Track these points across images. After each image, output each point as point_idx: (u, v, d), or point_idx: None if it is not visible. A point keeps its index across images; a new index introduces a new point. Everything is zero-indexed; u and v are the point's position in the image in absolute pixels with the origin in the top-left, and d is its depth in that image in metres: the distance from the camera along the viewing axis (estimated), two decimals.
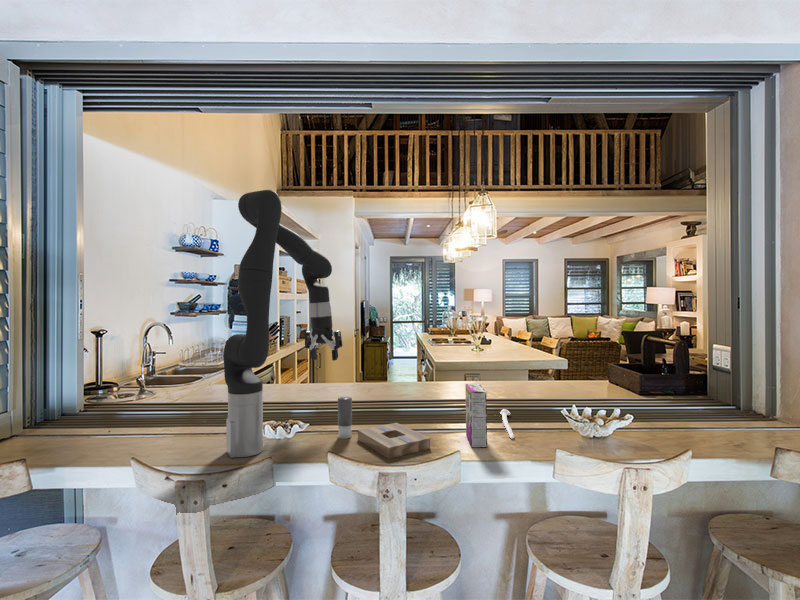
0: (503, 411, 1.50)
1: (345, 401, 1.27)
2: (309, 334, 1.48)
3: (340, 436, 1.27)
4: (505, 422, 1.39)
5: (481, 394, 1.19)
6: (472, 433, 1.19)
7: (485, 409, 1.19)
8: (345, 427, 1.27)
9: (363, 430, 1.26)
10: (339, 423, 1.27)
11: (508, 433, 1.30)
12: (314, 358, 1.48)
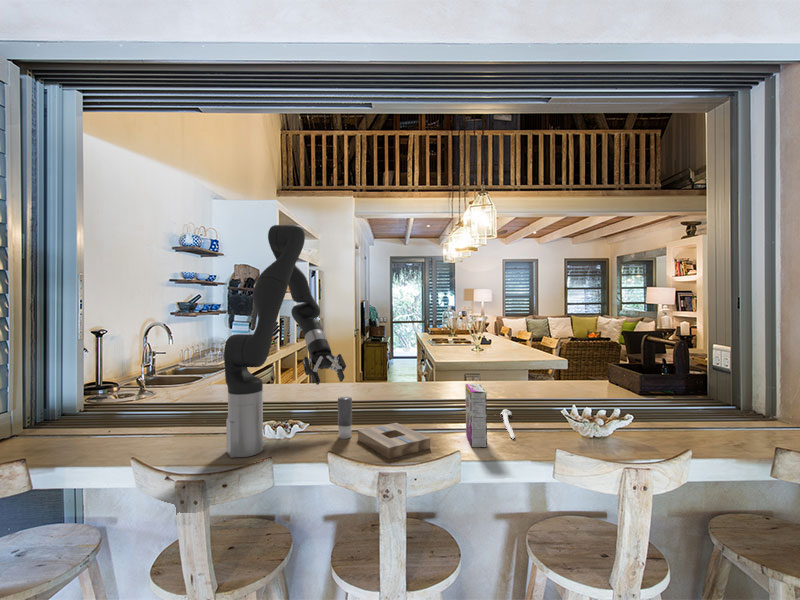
0: (504, 411, 1.50)
1: (345, 401, 1.27)
2: (308, 360, 1.41)
3: (340, 436, 1.27)
4: (506, 422, 1.39)
5: (481, 394, 1.19)
6: (472, 433, 1.19)
7: (485, 409, 1.19)
8: (345, 427, 1.27)
9: (363, 430, 1.26)
10: (339, 423, 1.27)
11: (509, 433, 1.30)
12: None
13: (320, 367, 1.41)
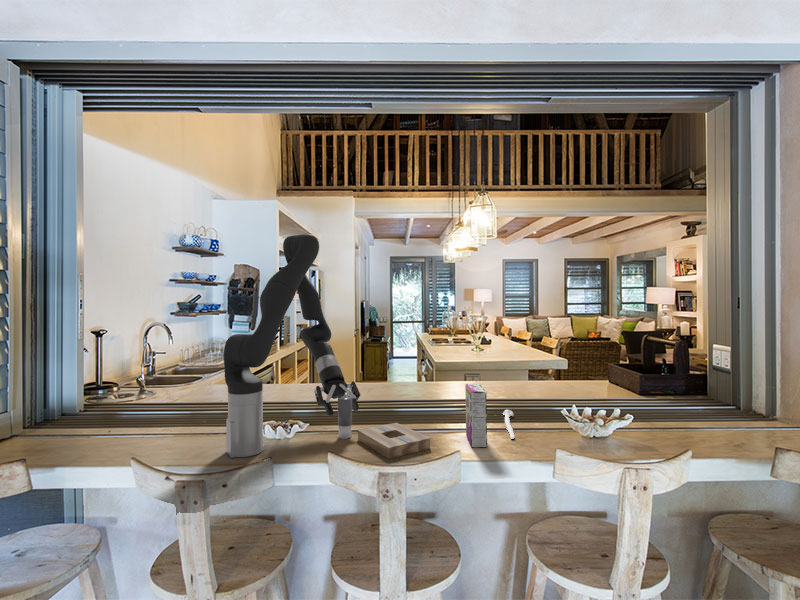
0: (506, 412, 1.49)
1: (345, 401, 1.27)
2: None
3: (340, 436, 1.27)
4: (507, 423, 1.38)
5: (481, 394, 1.19)
6: (472, 433, 1.19)
7: (485, 409, 1.19)
8: (345, 427, 1.27)
9: (363, 430, 1.26)
10: (339, 423, 1.27)
11: None
12: None
13: (333, 397, 1.32)
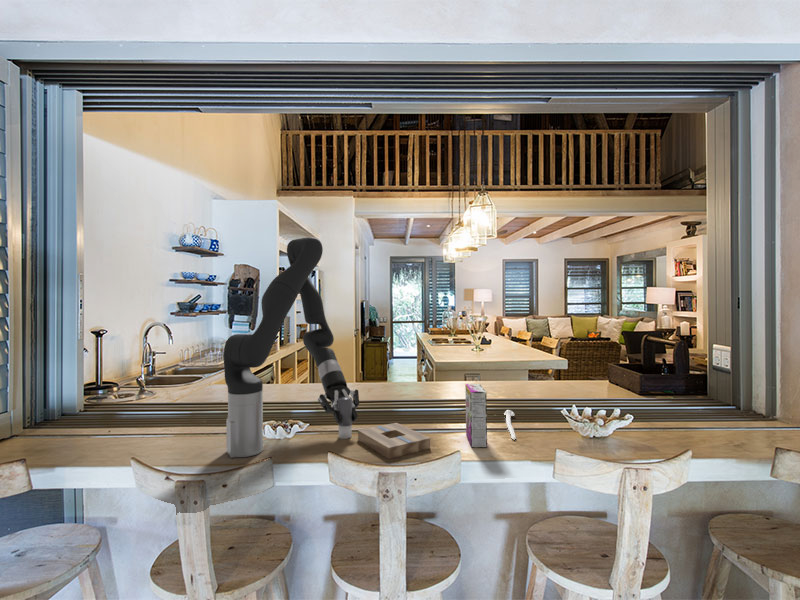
0: (507, 412, 1.49)
1: (345, 401, 1.27)
2: (324, 396, 1.30)
3: (340, 436, 1.27)
4: (508, 423, 1.38)
5: (481, 394, 1.19)
6: (472, 433, 1.19)
7: (485, 409, 1.19)
8: (345, 427, 1.27)
9: (363, 430, 1.26)
10: None
11: None
12: None
13: None
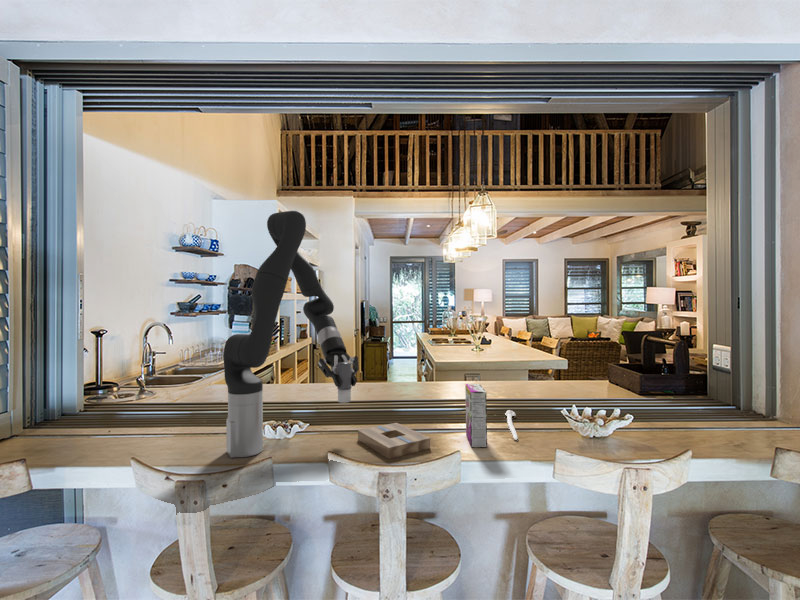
0: (508, 412, 1.49)
1: (345, 365, 1.27)
2: None
3: (339, 400, 1.27)
4: (509, 423, 1.38)
5: (481, 394, 1.19)
6: (472, 433, 1.19)
7: (485, 409, 1.19)
8: (344, 391, 1.27)
9: (363, 430, 1.26)
10: None
11: (512, 434, 1.29)
12: None
13: None
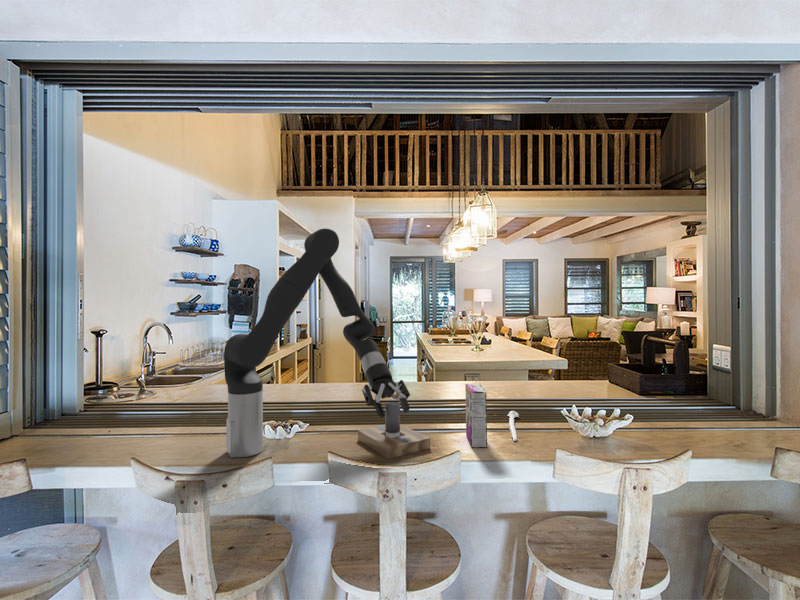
0: (511, 413, 1.48)
1: (394, 406, 1.20)
2: None
3: None
4: (511, 424, 1.37)
5: (481, 394, 1.19)
6: (472, 433, 1.19)
7: (485, 409, 1.19)
8: (393, 434, 1.20)
9: (363, 430, 1.26)
10: (387, 430, 1.21)
11: (512, 435, 1.28)
12: None
13: (382, 396, 1.24)
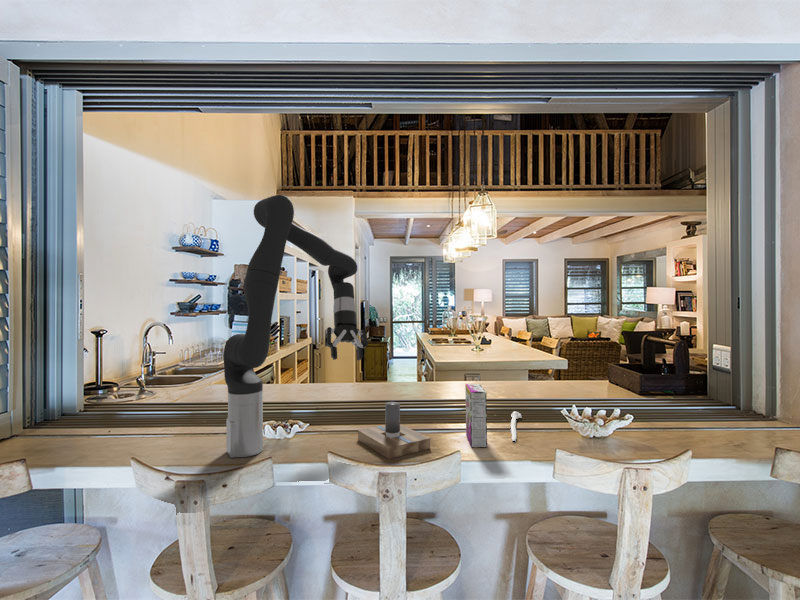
0: (513, 413, 1.47)
1: (394, 406, 1.20)
2: (331, 330, 1.34)
3: None
4: (512, 424, 1.36)
5: (481, 394, 1.19)
6: (472, 433, 1.19)
7: (485, 409, 1.19)
8: (393, 434, 1.20)
9: (363, 430, 1.26)
10: (387, 430, 1.21)
11: None
12: None
13: (341, 340, 1.35)
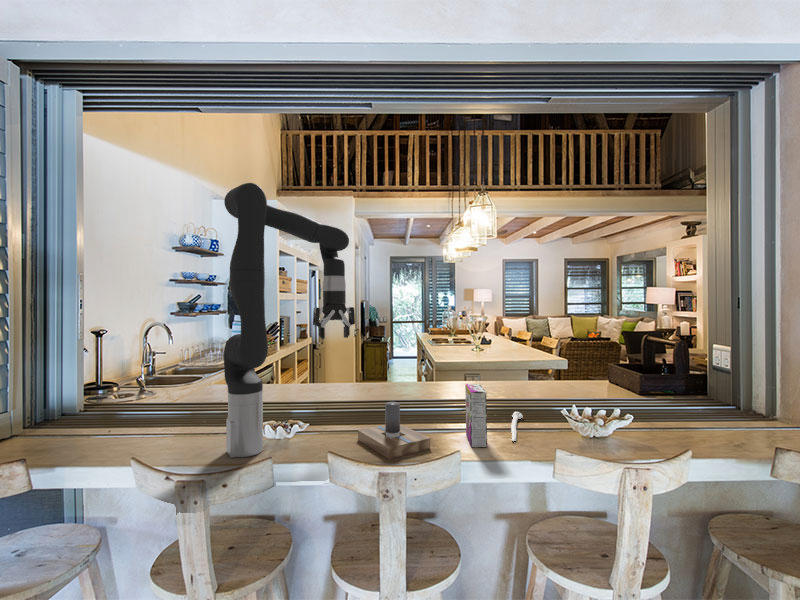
0: (515, 414, 1.47)
1: (394, 406, 1.20)
2: (320, 310, 1.35)
3: None
4: (512, 425, 1.36)
5: (481, 394, 1.19)
6: (472, 433, 1.19)
7: (485, 409, 1.19)
8: (393, 434, 1.20)
9: (363, 430, 1.26)
10: (387, 430, 1.21)
11: None
12: None
13: (329, 319, 1.37)
